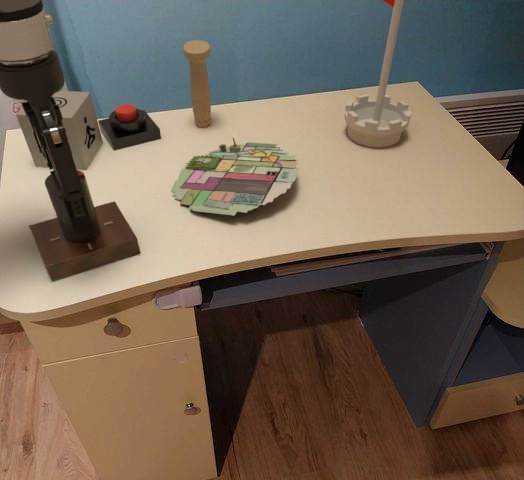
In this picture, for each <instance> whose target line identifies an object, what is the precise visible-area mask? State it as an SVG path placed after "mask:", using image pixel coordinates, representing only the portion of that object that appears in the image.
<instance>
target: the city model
mask: <svg viewBox="0 0 524 480" xmlns="http://www.w3.org/2000/svg"><path fill="white" fill-rule="evenodd" d="M232 141H233V144H232V145H230V146H229V145H228V146H227V145H226V144H223V143H222V144H220V145H219V146H218V148H217V149H216V150H213V151H209V152H208V153H207V154H204V155H196V156H195V155H194V156H192V158H190V159H189V161H188V162H185V164H186V165H185V166H184V168H182V169H180V172H179V174H178V178H177V179H175V181H174V183H173V185H172V187H171V189H170V192H171V193H173V194H172V195H171V196H172V197H174V200H179V201H180V202H179V205H184V206H188V210H191V211H192V212H193V211H194V212H201V213H209V214H219V215H226V216H235V215H236V214H237V213H245V214H247V213H248V212H249V211H253V210H254V209H258V208H259V206H266V205H267V204H268V203H273V201H274V199H276V198H279V196H280V195H282V194H286V193H287V190H290V189H291V187H292V185H293V183H294V182H295V181H296V179H297V176H298V172H299V169H300V168H299V167H297V166H298V164H299V163H298V159H296V155H292V154H291V155H290V152H289V151H285V150H284V149H281V147H277V145H278V144H277V143H264V142H263V143H262V142H246V143H245V144H241V143H236V141H235V137H232Z"/></svg>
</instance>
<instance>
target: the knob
mask: <svg viewBox="0 0 524 480" xmlns="http://www.w3.org/2000/svg"><path fill="white" fill-rule="evenodd" d="M77 173H78V176H79V179H80V182H81V185H82V188H83V190H84V192H85V197H84V200H85V203H86V206H87V210H88V213H89V216H90V219H91V222H92V226H93V229H94V230H91V231H87V232H84V233H81V234H77V235H76V234H75V232H74V229H73V227H72V224H71V221H70V218H69V215H68V212H67V209H66V207H65V204H64V201H63V199H62V200H59V198H58V196H57V194H61V193H62V191H61V188H60V185H59V182H58V180H57V177H56V174H55V172H54V173H52V174H51V173H50V174H49V175H48V176H47V177H46V178H45V180H44V186H45V188H46V192H47V194H48V196H49V199H50V202H51V205H52V207H53V210H54V213H55V216H56V218H58V221H59V224H60V226H61V229H62V232H63V234H64V237H65V238H66V239H67V240H69V241H71V242H76V243H81V242H87V241H90V240H92V239H94V238H95V237H96V236H97V235H98V234H99V233H100V229H101V228H100V225H99V221H98V218H97V214H96V211H95V208H94V207H95V205H94V201H93V197H92V195H91V191H90V188H89V185H88V181H87V178H86V175H85V173H84V172H83V171H82V170H77Z"/></svg>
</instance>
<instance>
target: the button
mask: <svg viewBox="0 0 524 480" xmlns="http://www.w3.org/2000/svg"><path fill="white" fill-rule="evenodd" d="M136 108H137V107H136V106H135V105H133V104H131V103H130V104H129V103H124V104H120V105H117V106H116V107H115V109H114V111H116V116H117V119H118V120H119V121H131V120H134V119H136V118H137V113H136Z"/></svg>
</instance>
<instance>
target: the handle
mask: <svg viewBox="0 0 524 480" xmlns="http://www.w3.org/2000/svg"><path fill="white" fill-rule="evenodd" d="M183 55H184V57H185V59H187V60H188V64H189V78H190V100H191V107H192V108H191V109H192V114H193V117H194V123H195V125H196V126H198V128H204V129H205V128H206V129H207V127H208V126H210V125H211V123H212V121H211V120H212V118H211V115H212V114H211V113H212V106H211V105H212V103H211V92H210V91H211V90H210V84H209V73H208V66H207V59H208V58H210V57H211V48H210V44H209V43H208V42H207V41H206V40H199V39H198V40H197V39H195V40H189V41H187V42H185V43H184V45H183Z"/></svg>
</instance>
